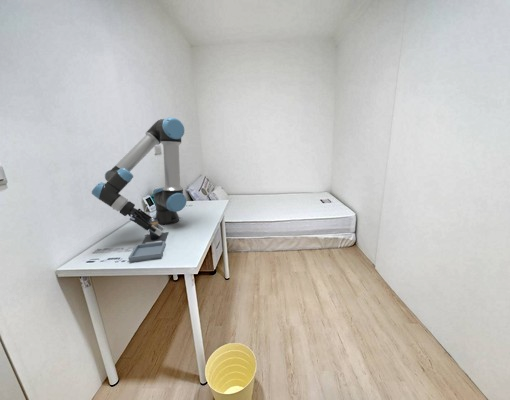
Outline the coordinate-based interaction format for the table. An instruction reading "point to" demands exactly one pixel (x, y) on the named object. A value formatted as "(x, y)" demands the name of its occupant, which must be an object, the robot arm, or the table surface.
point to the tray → (147, 252)
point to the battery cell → (155, 223)
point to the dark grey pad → (148, 240)
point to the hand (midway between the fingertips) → (161, 231)
